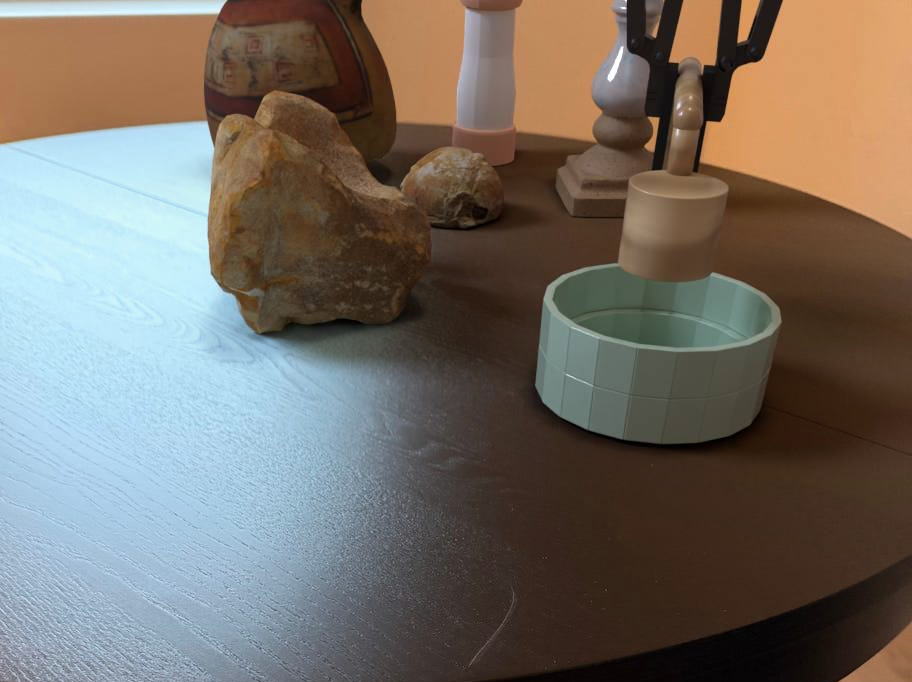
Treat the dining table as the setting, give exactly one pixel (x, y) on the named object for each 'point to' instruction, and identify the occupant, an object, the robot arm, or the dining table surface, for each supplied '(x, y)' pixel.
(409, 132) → the dining table surface
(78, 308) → the dining table surface
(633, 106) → the candle holder
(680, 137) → the hooked weight
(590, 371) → the mixing bowl
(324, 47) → the reddish ceramic vase
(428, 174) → the bread roll
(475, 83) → the pepper shaker
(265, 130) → the rough brown rock
